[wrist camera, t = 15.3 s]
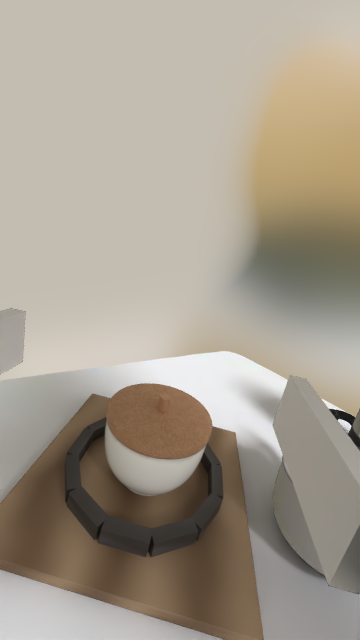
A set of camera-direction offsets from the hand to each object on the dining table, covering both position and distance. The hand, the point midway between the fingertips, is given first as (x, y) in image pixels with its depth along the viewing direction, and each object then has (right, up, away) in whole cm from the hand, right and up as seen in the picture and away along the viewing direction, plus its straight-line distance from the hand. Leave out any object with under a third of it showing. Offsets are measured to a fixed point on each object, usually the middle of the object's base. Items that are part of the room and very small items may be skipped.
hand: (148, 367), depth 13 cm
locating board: (-2, -15, +17) cm, 23 cm away
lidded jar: (-2, -14, +16) cm, 22 cm away
